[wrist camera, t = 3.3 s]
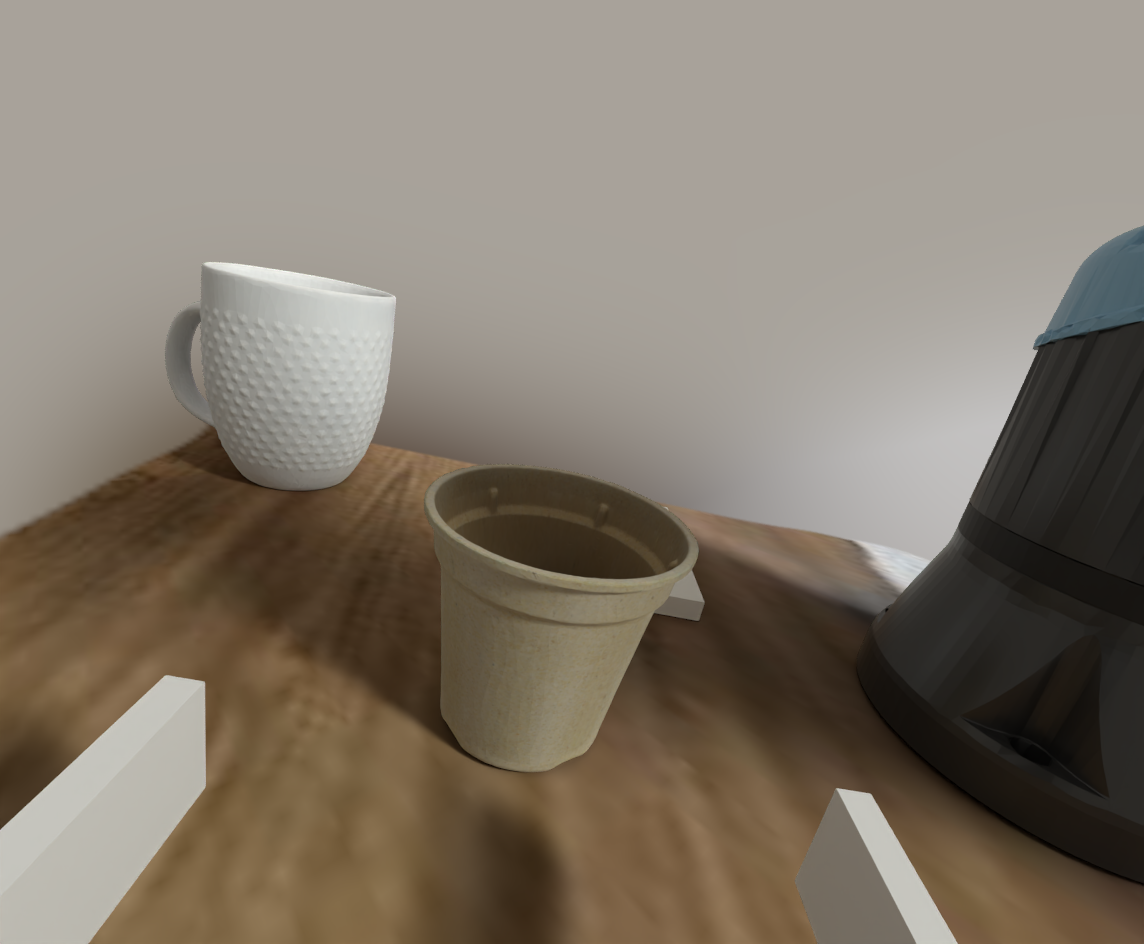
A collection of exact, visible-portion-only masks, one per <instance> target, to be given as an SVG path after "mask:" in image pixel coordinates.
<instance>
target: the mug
mask: <svg viewBox="0 0 1144 944" xmlns="http://www.w3.org/2000/svg"><path fill="white" fill-rule="evenodd" d="M201 276H202V277H201V301H198V302H194V303H192V304H190V305H188V306H186V307H185V308H183V309H182V310H181V311H180V312H179V313H178V314H177V315H176V317H175V318H174V320H173V322H172V324H171V326H170V329H169V332H168V335H167V340H166V347H165V362H166V370H167V376H168V379H169V383H170V385H171V388H172V390H173V392H174V394H175V396H176V398H177V400H178V401H179V402H180V403H181V404H182V405H183V406H184V407H185V408H186V409H187V410H188V411H189V412H190V413H191V414H193V415H194V416H196V417H197V418H198V419H200V420H202V421H203V422H205V423H207V424H209V425H211V426H213V427H215V429H216V430H217V433H218V437H219V439H220V440H221V443H222V446H223V448H224V449H225V451H226V452H227V454H228V456H229V457H230V459H231V461H232V462H233V464H234V465H235V467H236V468H237V469H238V470H239V471H240V473H241V474H242V475H243V476H245V477H246V478H247V479H248V480H250V481H252V482H254V483H256V484H258V485H261V486H265V487H269V488H274V489H280V490H293V491H307V490H317V489H323V488H328V487H331V486H334V485H337V484H339V483H341V482H342V481H343V480H345V479H346V478H347V477H348V476H349V475H350V474H351V472H352V471H353V470H354V469H355V467H356V466H357V465H358V463H359V462H360V460H361V459H362V458H363V456H364V455H365V453H366V450H367V449H368V447H369V444H370V441H371V440H372V439H373V434H374V433H375V429H376V426H377V424H378V422H379V419H380V415H381V412H382V406H383V404H384V398H385V394H386V392H387V388H386V387H387V383H388V375H389V372H390V369H389V367H390V359H391V354H392V342H393V339H392V338H393V335H394V317H395V308H396V297H395V296H394V295H392V294H390V293H387V292H384V291H380V290H377V289H373V288H369V287H365V286H361V285H356V284H352V283H347V282H343V281H339V280H334V279H329V278H323V277H319V276H313V275H308V274H301V273H295V272H289V271H284V270H277V269H270V268H263V267H256V266H249V265H242V264H234V263H220V262H205V263H203V264H202V275H201ZM200 322H201V325H200V329H201V338H200V340H201V352H202V361H201V362H202V365H203V375H204V386H205V388H206V395H207V399H208V402H207V401H206V400H205V399H204V397H203V396H202V395H201V393H200V392H199V390H198V388H197V387H196V384H195V381H194V378H193V374H192V370H191V358H190V353H191V352H190V351H191V346H192V340H193V336H194V333H195V331H196V328H197V326H198V324H199V323H200Z"/></svg>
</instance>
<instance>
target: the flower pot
mask: <svg viewBox="0 0 1144 944" xmlns="http://www.w3.org/2000/svg"><path fill="white" fill-rule="evenodd" d="M424 511H425V515H426V517H427V519H428V521H429V523H430V525H431V526H432V528H433V529H434V549H435V553H436V556H437V558H438V560H439V562H440V564H441V698H440V709H441V715H442V717H443V719H444V720H445V721H446V723H447V724H448V726H449V728H450V729H451V731H452V732H453V734H454V735H455V737H456V739H457V741H458V742H459V744H460V746H461V747H462V748H463V749H464V750H465V751H467V752H468V753H470V754H471V755H472V756H474V757H476V758H478V759H479V760H481V761H483V762H485V763H488V764H490V765H493V766H496V767H499V768H503V769H508V770H513V771H519V772H542V771H548V770H550V769H552V768H554V767H556V766H557V765H559V764H561V763H563V762H565V761H567V760H570V759H572V758H574V757H577V756H581V755H582V754H584V753H585V752H586V751H587V750H588V749H589V747H590V746H591V745H592V743H593V741H594V739H595V738H596V735H597V733H598V730H599V728H600V726H601V723H602V721H603V719H604V717H605V715H606V713H607V711H608V708H609V706H610V704H611V702H612V700H613V697H614V695H615V693H616V691H617V689H618V687H619V684H620V682H621V680H622V678H623V676H624V674H625V672H626V670H627V667H628V665H629V663H630V661H631V659H632V657H633V655H634V653H635V651H636V649H637V646H638V644H639V642H640V640H641V638H642V636H643V634H644V632H645V630H646V627H647V625H648V623H649V621H650V619H651V617H652V615H653V613H654V611H655V610H656V609H658V608H659V607H660V606H661V605H663V604H664V602H665V601H666V600H667V598H668V597H669V595H670V593H671V591H672V589H673V586H674V584H675V582H677V581H679V580H681V579H683V578H684V577H685V576H686V575H688V574H689V572H690V571H691V570H692V569H693V567H694V565H695V563H696V561H697V557H698V553H699V549H698V543H697V541H696V540H695V539H696V538H695V537H694V536H693V534H692V532H691V531H690V529H689V528H687V526H686V525H685V524H684V523H683V522H682V521H681V520H680V519H679V518H677V517H676V516H675V515H674V514H673V513H671V512H670V511H668V510H667V509H666V508H664V507H662V506H661V505H659V504H657V503H656V502H654V501H652V500H650V499H648V498H646V497H644V496H642V495H640V494H638V493H636V492H634V491H631V490H629V489H626V488H624V487H622V486H619V485H617V484H615V483H611V482H606V481H604V480H601V479H598V478H595V477H591V476H587V475H583V474H579V473H575V472H570V471H565V470H560V469H552V468H546V467H537V466H525V465H514V464H512V465H510V464H497V465H496V464H493V465H492V464H487V465H478V466H472V467H469V468H461V469H458V470H455V471H453V472H450V473H447V474H444V475H443V476H442V477H440V478H438V479H437V480H435V481H434V482H433V483H432V484H431V485H430V486H429V488H428V489H427V491H426V493H425V498H424Z"/></svg>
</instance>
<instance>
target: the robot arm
mask: <svg viewBox="0 0 1144 944" xmlns="http://www.w3.org/2000/svg"><path fill="white" fill-rule="evenodd" d="M1033 349H1034V350H1038V352H1037V354H1036V356H1035V358H1034V361H1033V363H1032V365H1031V367H1030V370H1029V372H1028V374H1027V376H1026V379H1025V381H1024V383H1023V385H1022V387H1021V390H1020V392H1019V394H1018V396H1017V399H1016V401H1015V403H1014V406H1013V408H1012V410H1011V412H1010V414H1009V417H1008V419H1007V421H1006V423H1005V425H1004V428H1003V430H1002V432H1001V434H1000V436H999V438H998V440H997V442H996V445H995V447H994V449H993V451H992V453H991V455H990V457H989V459H988V462H987V464H986V466H985V468H984V470H983V472H982V474H981V477H980V479H979V481H978V483H977V485H976V487H975V490H974V492H973V494H972V496H971V498H970V501H969V503H968V505H967V507H966V510H965V512H964V514H963V516H962V518H961V520H960V522H959V525H958V527H957V529H956V531H955V533H954V535H953V537H952V539H951V541H950V542H949V543H948V545H947V546H946V547H945V548H944V549H943V550H942V551H941V552H940V553H939V554H938V555H937V556H936V557H935V558H934V559H933V560H932V561H931V562H930V564H929V565H928V566H927V567H926V568H925V569H924V570H923V571H922V572H921V573H920V574H919V575H918V576H917V577H916V578H915V579H914V580H913V582H912V583H911V584H910V585H909V586H908V587H907V588H906V589H905V590H904V592H903V593H902V594H901V595H900V596H899V597H898V599H897V600H896V601H895V602H894V603H893V604H891V605H889V606H888V607H886V608H885V609H884V610H883V611H881V612H880V613H879V614H878V615H877V616H876V617H875V619H874V620H873V622H872V623H871V625H870V628H869V630H868V632H867V635H866V637H865V639H864V642H863V644H862V646H861V649H860V651H859V653H858V656H857V671H858V676H859V679H860V681H861V684H862V686H863V688H864V690H865V692H866V694H867V695H868V697H869V699H870V700H871V702H872V703H873V705H874V706H875V707H876V709H877V710H878V711H879V713H880V714H881V715H882V716H883V718H884V719H885V720H886V721H887V722H888V724H889V725H890V726H891V727H892V728H893V729H894V730H895V731H896V732H897V733H898V734H899V735H900V736H901V737H902V738H903V739H904V740H905V741H906V742H907V743H908V744H909V745H910V746H911V747H912V748H913V749H914V750H915V751H916V752H917V753H918V754H920V755H921V756H922V757H923V758H924V759H925V760H926V761H928V762H929V763H930V764H931V765H932V766H934V767H935V768H936V769H937V770H938V771H940V772H941V773H942V774H943V775H945V776H946V777H947V778H949V779H950V780H951V781H952V782H954V783H955V784H956V785H958V786H959V787H960V788H962V789H963V790H965V791H966V792H967V793H969V794H970V795H972V796H973V797H974V798H976V799H977V800H979V801H980V802H982V803H983V804H985V805H986V806H988V807H989V808H991V809H992V810H994V811H995V812H997V813H999V814H1000V815H1002V816H1003V817H1005V818H1007V819H1008V820H1010V821H1012V822H1013V823H1015V824H1017V825H1018V826H1020V827H1022V828H1023V829H1025V830H1027V831H1029V832H1030V833H1032V834H1034V835H1036V836H1037V837H1039V838H1041V839H1043V840H1045V841H1047V842H1049V843H1051V844H1052V845H1054V846H1056V847H1058V848H1060V849H1062V850H1064V851H1066V852H1068V853H1070V854H1072V855H1075V856H1077V857H1079V858H1081V859H1083V860H1085V861H1087V862H1090V863H1092V864H1094V865H1097V866H1099V867H1101V868H1104V869H1106V870H1109V871H1111V872H1114V873H1116V874H1119V875H1121V876H1124V877H1127V878H1130V879H1133V880H1135V881H1138V882H1142V883H1144V226H1141V227H1139V228H1136V229H1133V230H1131V231H1128V232H1126V233H1123V234H1122V235H1119V236H1117V237H1115V238H1114V239H1112V240H1110V241H1108V242H1107V243H1105V244H1104V245H1102V246H1101V247H1100V248H1098V249H1097V250H1096V251H1094V252H1093V253H1092V254H1091V255H1090V256H1089V257H1088V258H1087V259H1086V260H1085V261H1084V262H1083V264H1082V265H1081V266H1080V268H1079V270H1078V271H1077V272H1076V274H1075V276H1074V278H1073V280H1072V282H1071V284H1070V286H1069V288H1068V290H1067V291H1066V293H1065V295H1064V297H1063V299H1062V301H1061V303H1060V305H1059V307H1058V309H1057V310H1056V312H1055V314H1054V316H1053V318H1052V320H1051V322H1050V323H1049V326H1048V327H1047V329H1046V331H1045V333H1043V334H1041V335H1039V336H1038V337H1037V339H1036V340H1035V343H1034V347H1033ZM205 787H206V760H205V682H203V681H197V680H191V679H185V678H180V677H174V676H168V675H165V676H164V677H163V678H162V679H161V680H160V681H159V682H158V683H157V684H156V685H155V686H154V687H153V688H152V689H150V690H149V691H148V692H147V693H146V694H145V695H144V696H143V697H142V698H141V699H140V700H139V701H138V702H137V703H135V704H134V705H133V706H132V707H131V708H130V709H129V710H128V711H127V712H126V713H125V714H124V715H123V716H122V717H120V718H119V719H118V720H117V721H116V722H115V723H114V724H113V725H112V726H111V727H110V728H109V729H108V730H107V731H105V732H104V733H103V734H102V735H101V736H100V737H99V738H98V739H97V740H96V741H95V742H94V743H93V744H92V745H91V746H89V747H88V748H87V749H86V750H85V751H84V752H83V753H82V754H81V755H80V756H79V757H78V758H77V759H76V760H74V761H73V762H72V763H71V764H70V765H69V766H68V767H67V768H66V769H65V770H64V771H63V772H62V773H61V774H59V775H58V776H57V777H56V778H55V779H54V780H53V781H52V782H51V783H50V784H49V785H48V786H47V787H46V788H45V789H43V790H42V791H41V792H40V793H39V794H38V795H37V796H36V797H35V798H34V799H33V800H32V801H31V802H30V803H28V804H27V805H26V806H25V807H24V808H23V809H22V810H21V811H20V812H19V813H18V814H17V815H16V816H15V817H13V818H12V819H11V820H10V821H9V822H8V823H7V824H6V825H5V826H4V827H3V828H2V829H1V830H0V944H88V943H89V942H90V941H91V939H92V938H93V937H94V935H95V934H96V933H97V931H98V930H99V929H100V927H101V926H102V925H103V923H104V922H105V921H106V919H107V918H108V917H109V915H110V914H111V913H112V911H113V910H114V909H115V907H116V906H117V905H118V903H119V902H120V901H121V899H122V898H123V897H124V895H125V894H126V893H127V891H128V890H129V889H130V887H131V886H132V885H133V883H134V882H135V881H136V879H137V878H138V877H139V875H140V874H141V873H142V871H143V870H144V869H145V867H146V866H147V865H148V863H149V862H150V861H151V859H152V858H153V857H154V855H155V854H156V852H157V851H158V850H159V848H160V847H161V846H162V844H163V843H164V842H165V840H166V839H167V838H168V836H169V835H170V834H171V832H172V831H173V830H174V828H175V827H176V826H177V824H178V823H179V822H180V820H181V819H182V818H183V816H184V815H185V814H186V812H187V811H188V810H189V808H190V807H191V806H192V804H193V803H194V802H195V800H196V799H197V798H198V796H199V795H200V794H201V792H202V791H203V790H204V788H205ZM795 883H796V886H797V888H798V891H799V894H800V897H801V899H802V902H803V905H804V908H805V910H806V913H807V916H808V918H809V921H810V924H811V927H812V929H813V932H814V935H815V938H816V940H817V943H818V944H958V943H957V942H956V940H955V938H954V937H953V935H952V933H951V931H950V930H949V928H948V926H947V924H946V923H945V921H944V919H943V918H942V916H941V914H940V912H939V911H938V909H937V907H936V905H935V904H934V902H933V900H932V899H931V897H930V895H929V893H928V892H927V890H926V888H925V886H924V885H923V883H922V881H921V880H920V878H919V876H918V874H917V873H916V871H915V869H914V867H913V866H912V864H911V862H910V861H909V859H908V857H907V855H906V854H905V852H904V850H903V848H902V847H901V845H900V843H899V842H898V840H897V838H896V836H895V835H894V833H893V831H892V829H891V828H890V826H889V824H888V823H887V821H886V819H885V817H884V816H883V814H882V812H881V810H880V809H879V807H878V805H877V804H876V802H875V800H874V798H873V797H872V795H871V794H869V793H863V792H857V791H851V790H845V789H839V788H836V790H835V792H834V794H833V796H832V799H831V801H830V803H829V805H828V807H827V810H826V812H825V814H824V816H823V819H822V821H821V823H820V825H819V827H818V830H817V832H816V834H815V836H814V839H813V841H812V843H811V845H810V847H809V850H808V852H807V854H806V856H805V859H804V861H803V863H802V865H801V867H800V870H799V872H798V874H797V876H796V879H795Z"/></svg>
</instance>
